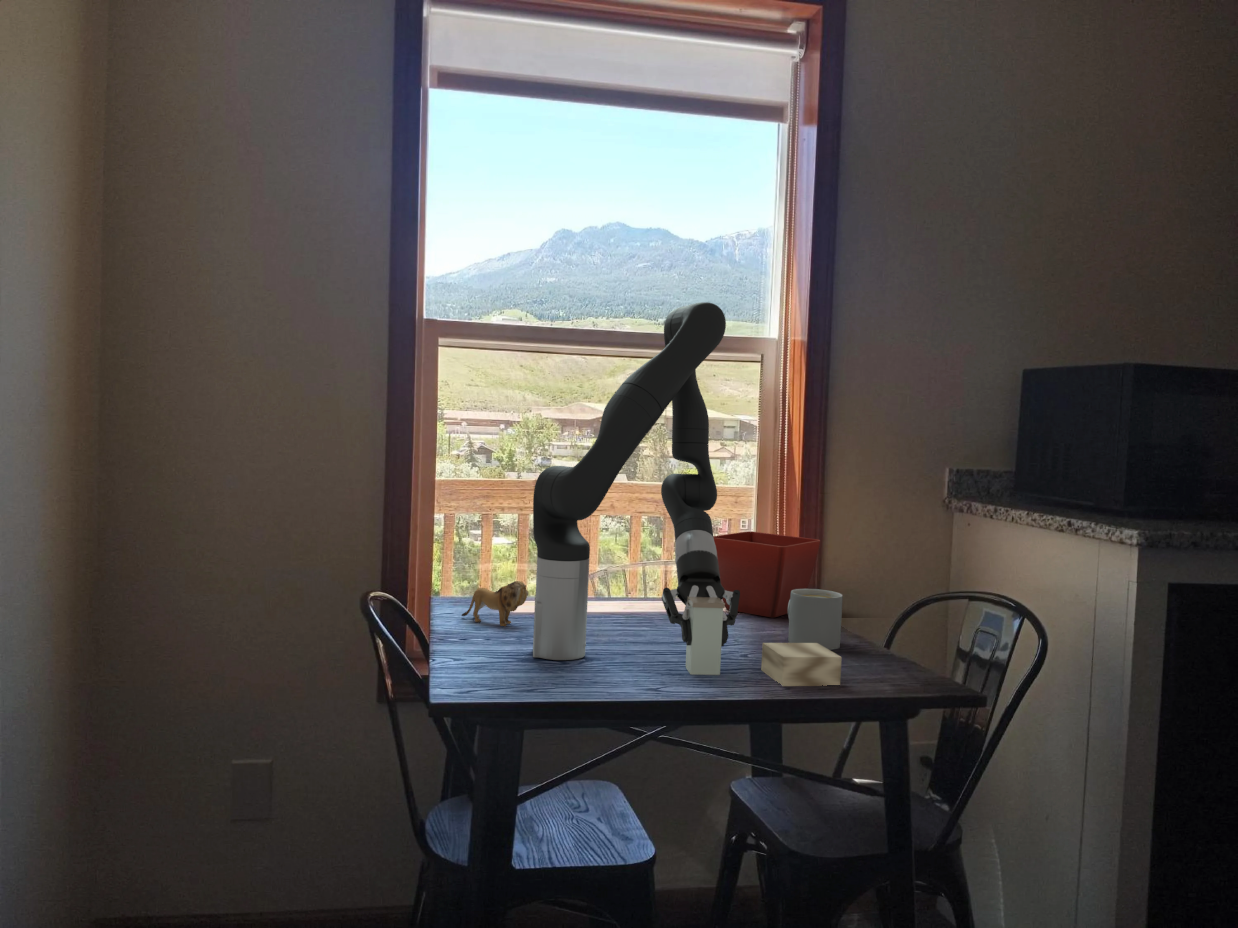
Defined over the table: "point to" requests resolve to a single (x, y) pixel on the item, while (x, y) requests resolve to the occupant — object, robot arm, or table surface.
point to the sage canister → (705, 635)
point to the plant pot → (765, 569)
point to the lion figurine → (499, 600)
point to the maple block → (801, 664)
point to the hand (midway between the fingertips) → (706, 642)
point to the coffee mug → (815, 617)
